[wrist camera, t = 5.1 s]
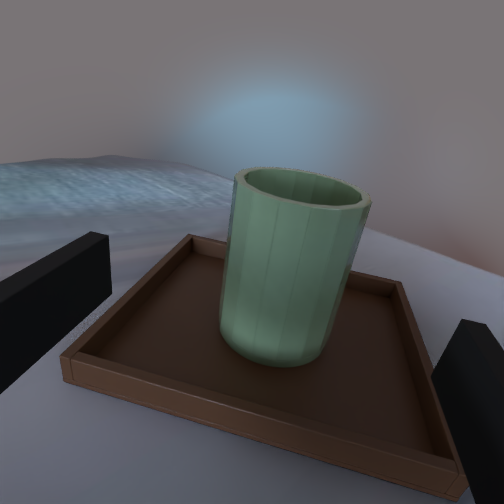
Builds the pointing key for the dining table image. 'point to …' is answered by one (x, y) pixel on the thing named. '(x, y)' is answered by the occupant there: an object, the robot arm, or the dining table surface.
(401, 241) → the dining table surface
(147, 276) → the tray
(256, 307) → the cup
